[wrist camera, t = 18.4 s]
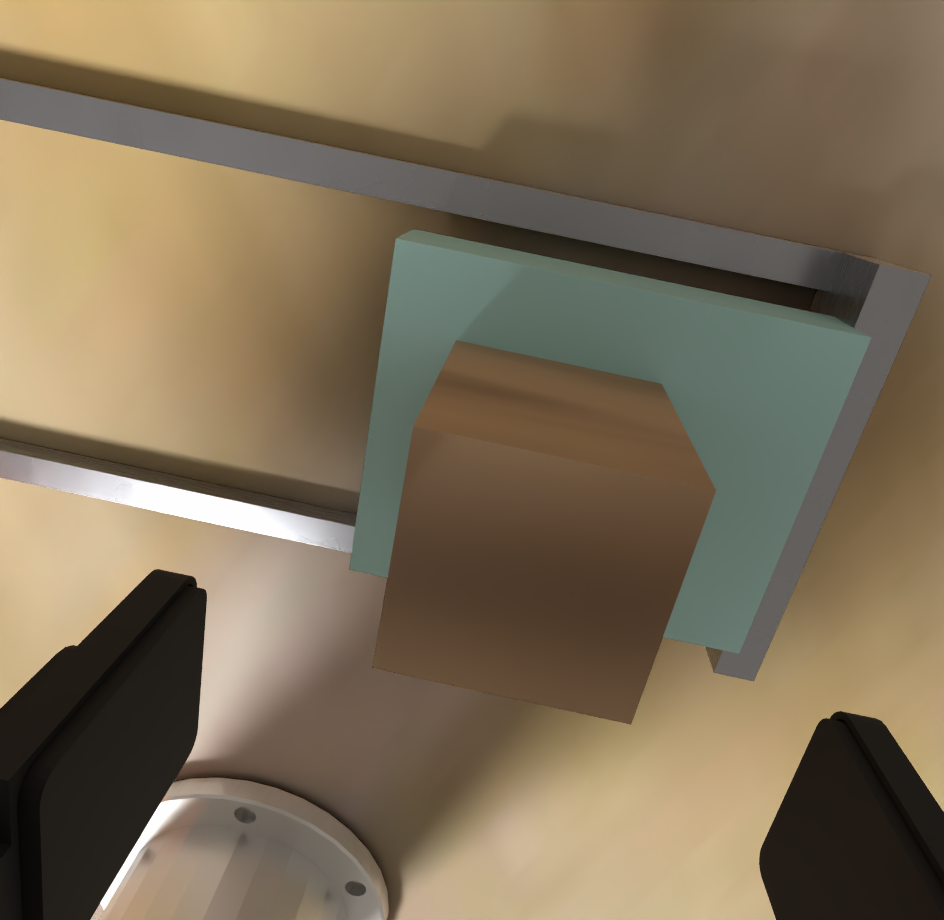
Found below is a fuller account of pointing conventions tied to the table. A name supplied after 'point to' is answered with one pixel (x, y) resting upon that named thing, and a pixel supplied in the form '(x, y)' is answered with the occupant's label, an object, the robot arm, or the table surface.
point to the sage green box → (633, 355)
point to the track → (829, 271)
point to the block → (541, 533)
